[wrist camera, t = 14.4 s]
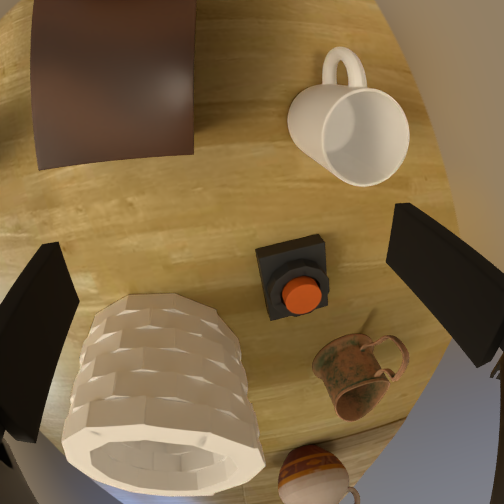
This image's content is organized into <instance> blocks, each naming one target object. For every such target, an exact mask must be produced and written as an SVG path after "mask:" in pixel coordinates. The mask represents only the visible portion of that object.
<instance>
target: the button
mask: <svg viewBox="0 0 504 504" xmlns="http://www.w3.org/2000/svg"><path fill="white" fill-rule="evenodd" d="M282 297H283V300H284V302H285V305H286V307H287V309H288V310H289V311H290V312H292V313H295V314H304V313H308V312H310V311H312V310H313V309H314V308H316V307H317V305H318V304H319V303H320V301H321V297H322V294H321V291H320V289H319V287H318V285H317V283H316V282H315V280H314V279H312V278H310V277H307V276H300V277H296V278H294V279H292V280H290V281H289V282H288V283H287V284H286V285H285V287H284V289H283V292H282Z"/></svg>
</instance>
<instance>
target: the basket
mask: <svg viewBox="0 0 504 504" xmlns="http://www.w3.org/2000/svg"><path fill="white" fill-rule="evenodd" d="M79 358H80V369H79V372H78V373H77V377H76V378H75V379H74V383H73V387H72V391H71V395H70V401H71V407H70V409H69V413H68V417H67V418H65V423H64V429H63V434H62V439H61V442H62V445H63V448H64V451H65V455H66V458H67V461H68V462H69V463H70V464H72V465H73V466H75V467H76V468H78V469H79V470H80V471H82V472H83V473H85V474H86V475H88V476H89V477H91V478H92V479H93V480H96V481H99V482H102V483H105V484H108V485H111V486H114V487H117V488H120V489H123V490H126V491H130V492H135V493H143V494H151V495H161V496H172V497H174V496H210V495H214V493H216V492H220V491H223V490H226V489H229V488H232V487H235V486H238V485H241V484H244V483H247V482H249V481H250V480H251V479H252V478H253V477H254V476H255V475H256V474H257V473H259V472H260V471H261V470H262V469H263V468H264V467H265V466H266V463H265V459H264V454H263V449H262V445H261V444H260V441H259V434H260V432H259V428H258V423H257V418H256V414H255V412H254V410H253V406H252V403H250V402H249V400H248V398H247V390H248V382H247V377H246V372H245V368H243V365H242V362H241V349H240V344H239V339H238V338H237V337H236V335H235V334H234V333H233V332H232V331H231V330H230V328H229V327H228V326H227V325H226V324H225V322H224V321H223V320H222V319H221V318H220V316H219V315H218V314H217V311H216V309H213V308H211V307H208V306H206V305H203V304H201V303H198V302H195V301H193V300H190V299H188V298H185V297H183V296H180V295H178V294H176V293H167V294H139V295H127V296H126V297H124V298H122V299H120V300H119V301H117V302H115V303H113V304H112V305H110V306H108V307H106V308H105V309H103V310H101V311H100V312H98V313H96V314H95V317H94V321H93V323H92V326H91V329H90V332H89V335H88V337H87V338H86V339H85V340H84V343H83V346H82V350H81V353H80V357H79Z"/></svg>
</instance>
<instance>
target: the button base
mask: <svg viewBox="0 0 504 504" xmlns="http://www.w3.org/2000/svg"><path fill="white" fill-rule="evenodd" d="M255 251H256V256H257V261H258V266H259V271H260V276H261V281H262V286H263V291H264V297H265V302H266V307H267V311H268V314H269V317H270V321H273V320H277V319H280V318H284V317H288V316H294V317H295V316H296V317H297V316H300V315H304V314H308V313H311V312H312V311H313V310H315V309H317V308H321V307H324V306H328V296H327V295H328V293H329V278H328V277H327V272H326V253H325V242H324V241H323V239H322V238H321V237H320V235H319V234H316V235H312V236H308V237H304V238H300V239H295V240H291V241H287V242H283V243H279V244H275V245H270V246H266V247H262V248H258V249H255ZM300 276H307V277H310V278H312V279H314V280H315V282H316V283H317V285H318V287H319V289H320V291H321V294H322V297H321V301H320V303H319V304H318V305H317V307H316V308H314V309H313V310H312V311H310V312H308V313H304V314H295V313H292V312H290V311H289V310H288V309H287V307H286V305H285V302H284V300H283V297H282V292H283V289H284V287H285V285H286V284H287V283H288V282H289V281H290V280H292V279H294V278H296V277H300Z"/></svg>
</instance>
